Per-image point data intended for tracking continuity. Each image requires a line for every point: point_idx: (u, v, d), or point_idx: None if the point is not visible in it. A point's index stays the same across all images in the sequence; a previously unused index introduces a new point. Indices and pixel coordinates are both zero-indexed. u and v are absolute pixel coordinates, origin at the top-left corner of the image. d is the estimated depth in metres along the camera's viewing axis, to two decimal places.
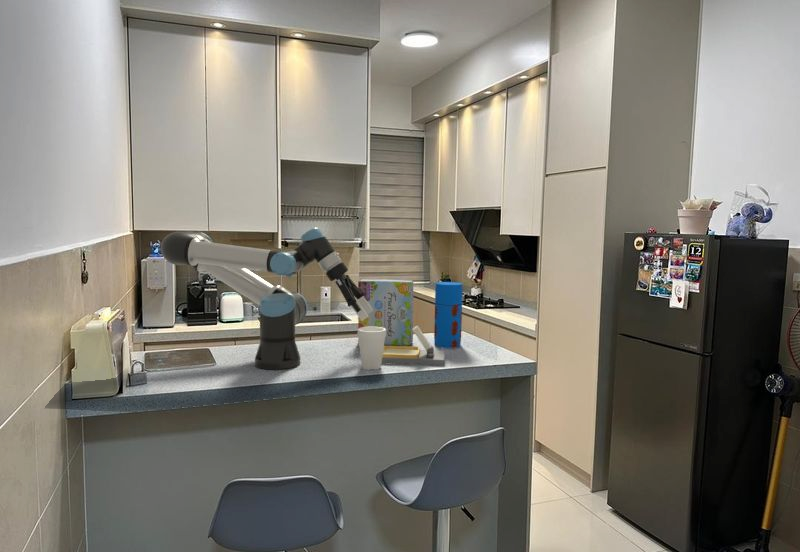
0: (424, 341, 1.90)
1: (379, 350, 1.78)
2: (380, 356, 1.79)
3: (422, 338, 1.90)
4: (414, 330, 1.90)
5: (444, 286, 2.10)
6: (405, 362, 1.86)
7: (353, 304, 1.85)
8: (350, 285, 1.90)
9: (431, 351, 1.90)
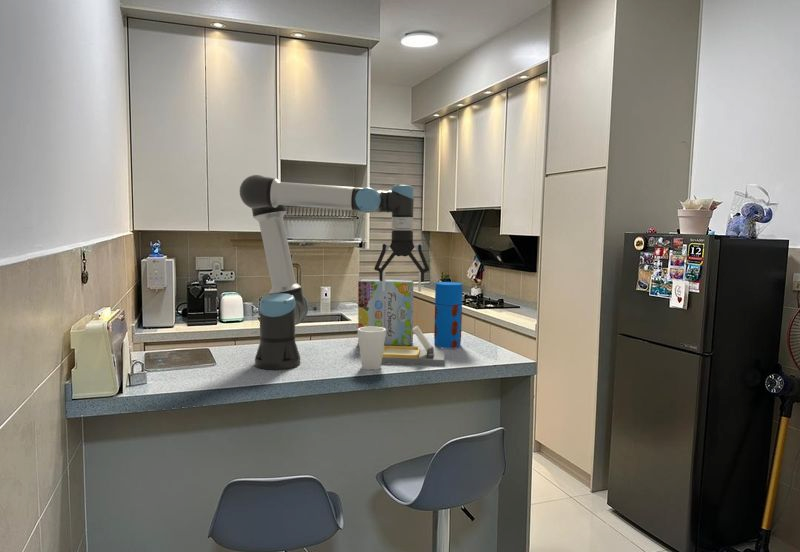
0: (424, 341, 1.90)
1: (379, 350, 1.78)
2: (380, 356, 1.79)
3: (422, 338, 1.90)
4: (414, 330, 1.90)
5: (444, 286, 2.10)
6: (405, 362, 1.86)
7: (379, 272, 1.91)
8: (394, 255, 1.88)
9: (431, 351, 1.90)
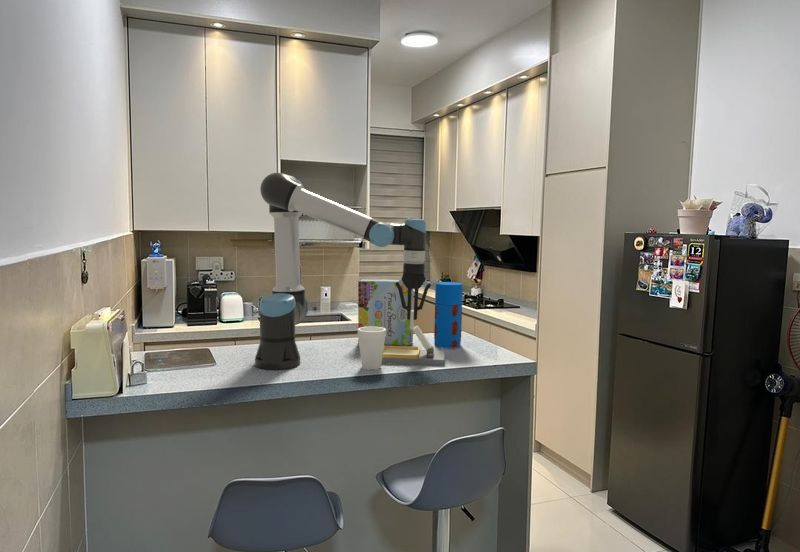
0: (424, 341, 1.90)
1: (379, 350, 1.78)
2: (380, 356, 1.79)
3: (422, 338, 1.90)
4: (414, 330, 1.90)
5: (444, 286, 2.10)
6: (405, 362, 1.86)
7: (407, 310, 1.92)
8: (410, 289, 1.89)
9: (431, 351, 1.90)
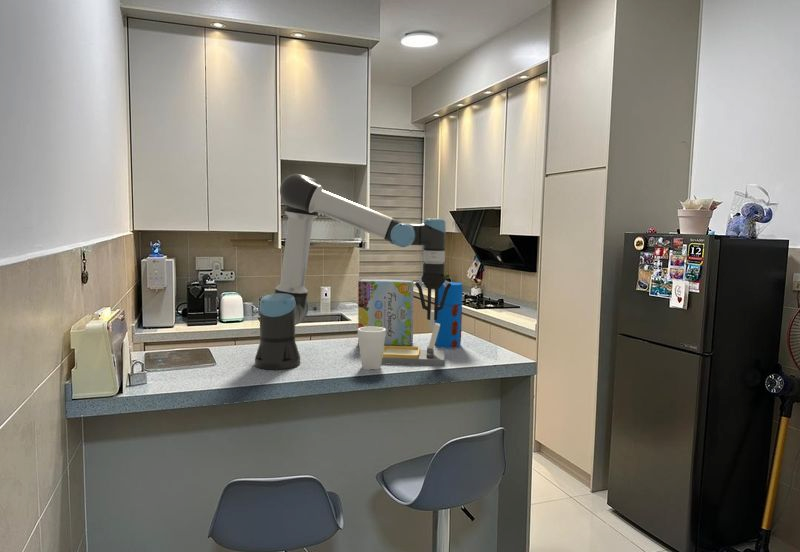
0: (434, 340, 1.90)
1: (379, 350, 1.78)
2: (380, 356, 1.79)
3: (435, 337, 1.90)
4: (436, 326, 1.89)
5: None
6: (405, 362, 1.86)
7: (427, 310, 1.91)
8: (430, 289, 1.89)
9: (431, 352, 1.90)
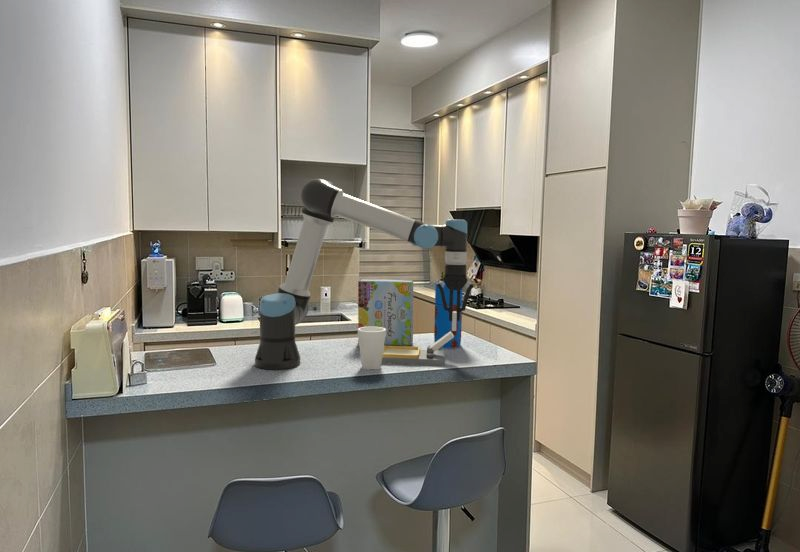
0: (440, 345, 1.90)
1: (379, 350, 1.78)
2: (380, 356, 1.79)
3: (443, 343, 1.90)
4: (450, 335, 1.89)
5: (444, 286, 2.10)
6: (405, 362, 1.86)
7: None
8: (452, 290, 1.88)
9: None
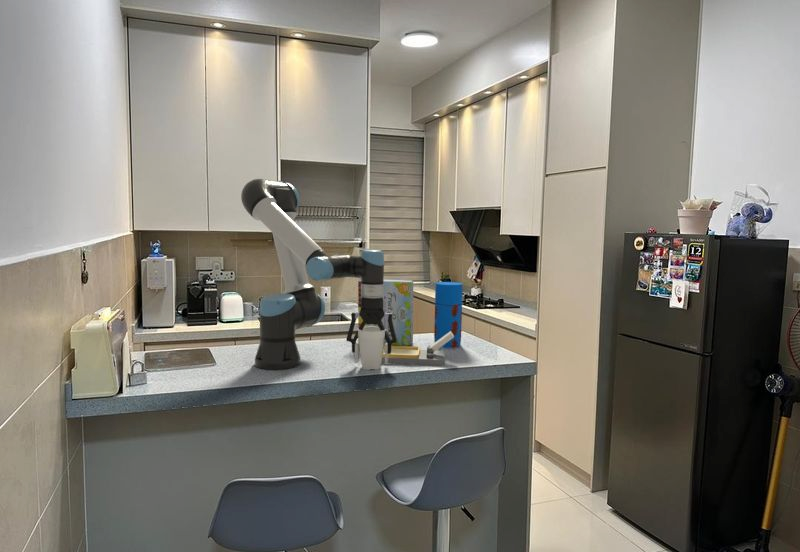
0: (440, 345, 1.90)
1: (379, 350, 1.78)
2: (380, 356, 1.79)
3: (443, 343, 1.90)
4: (450, 335, 1.89)
5: (444, 286, 2.10)
6: (405, 362, 1.86)
7: None
8: (364, 324, 1.79)
9: None
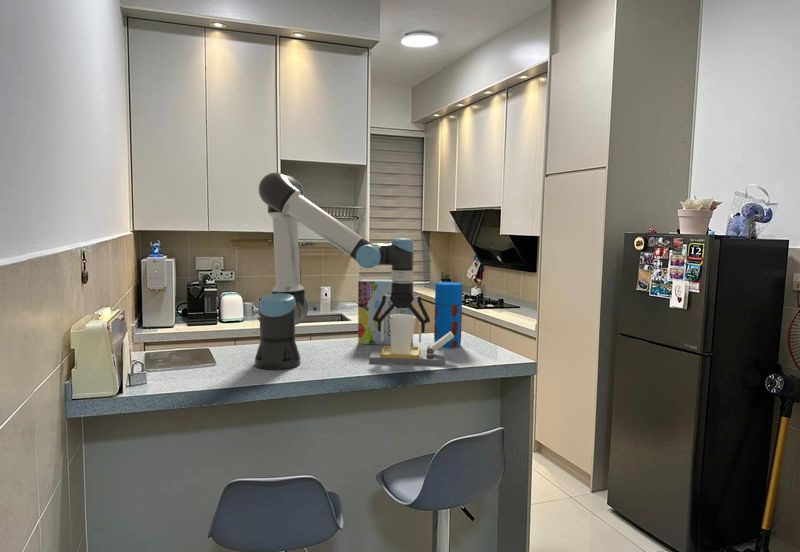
0: (440, 345, 1.90)
1: (409, 337, 1.90)
2: (410, 342, 1.91)
3: (443, 343, 1.90)
4: (450, 335, 1.89)
5: (444, 286, 2.10)
6: (405, 362, 1.86)
7: None
8: (393, 307, 1.90)
9: None
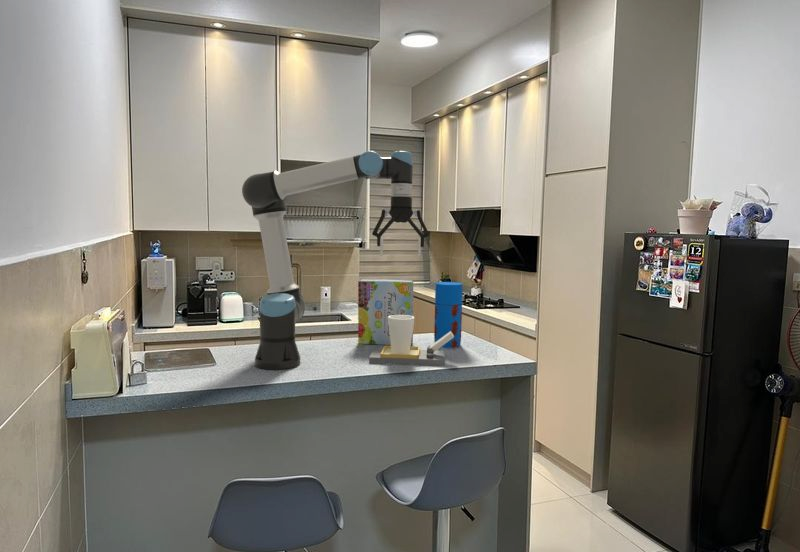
0: (440, 345, 1.90)
1: (408, 336, 1.90)
2: (409, 342, 1.91)
3: (443, 343, 1.90)
4: (450, 335, 1.89)
5: (444, 286, 2.10)
6: (405, 362, 1.86)
7: (377, 237, 1.93)
8: (392, 221, 1.90)
9: None
